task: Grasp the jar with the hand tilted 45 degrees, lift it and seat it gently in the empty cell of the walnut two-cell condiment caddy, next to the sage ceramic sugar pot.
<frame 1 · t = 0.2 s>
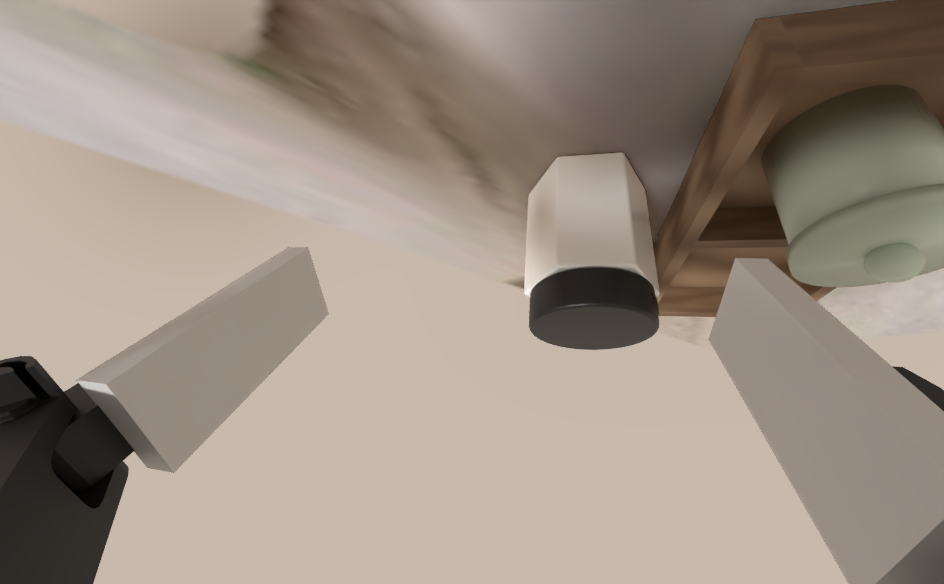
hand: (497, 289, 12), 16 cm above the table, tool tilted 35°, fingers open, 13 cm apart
caddy: (771, 200, 28), on the table
jar: (584, 189, 29), on the table
sugar pot: (834, 140, 22), point 1 cm above the table, touching caddy
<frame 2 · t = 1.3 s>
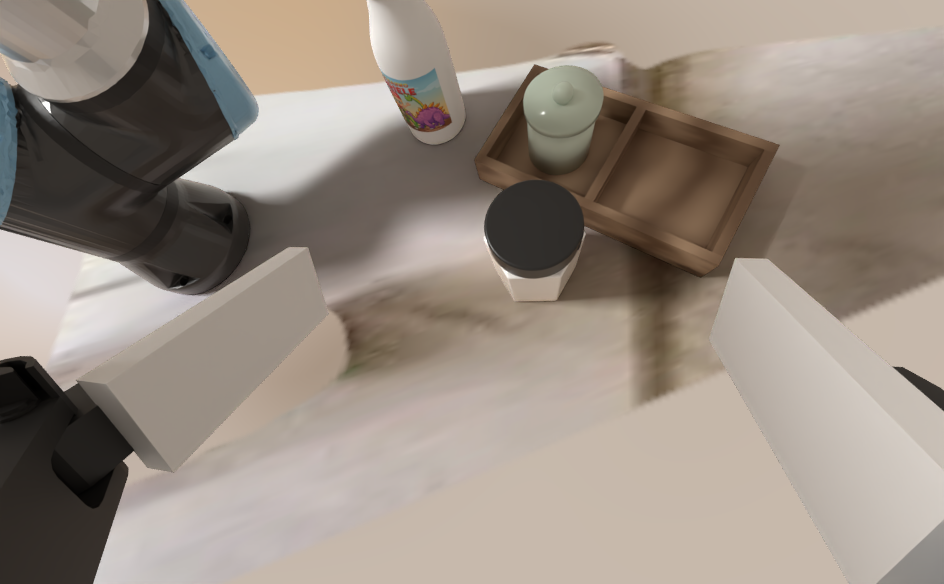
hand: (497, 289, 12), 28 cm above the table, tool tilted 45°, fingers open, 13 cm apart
caddy: (608, 173, 42), on the table
jar: (534, 268, 41), on the table
sugar pot: (558, 148, 43), point 1 cm above the table, touching caddy
milk bottle: (438, 122, 48), on the table
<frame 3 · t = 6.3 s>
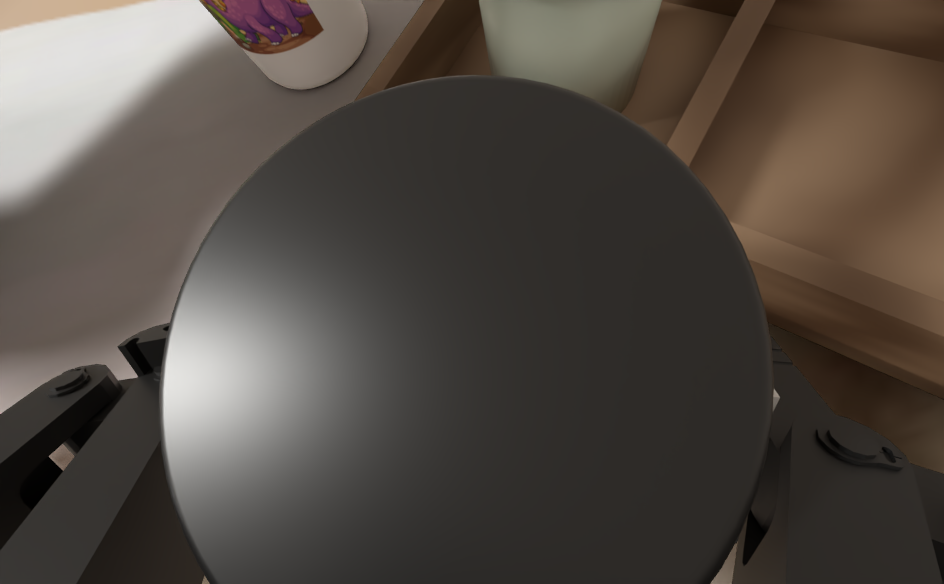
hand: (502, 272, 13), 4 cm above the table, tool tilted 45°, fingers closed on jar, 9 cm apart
caddy: (686, 134, 17), on the table
jar: (507, 372, 16), on the table, touching gripper
sugar pot: (563, 79, 18), point 1 cm above the table, touching caddy
milk bottle: (319, 48, 24), on the table
when the fingers open (7 cm above the table, at t = 11.3 s): jar drops 1 cm, resting on caddy.
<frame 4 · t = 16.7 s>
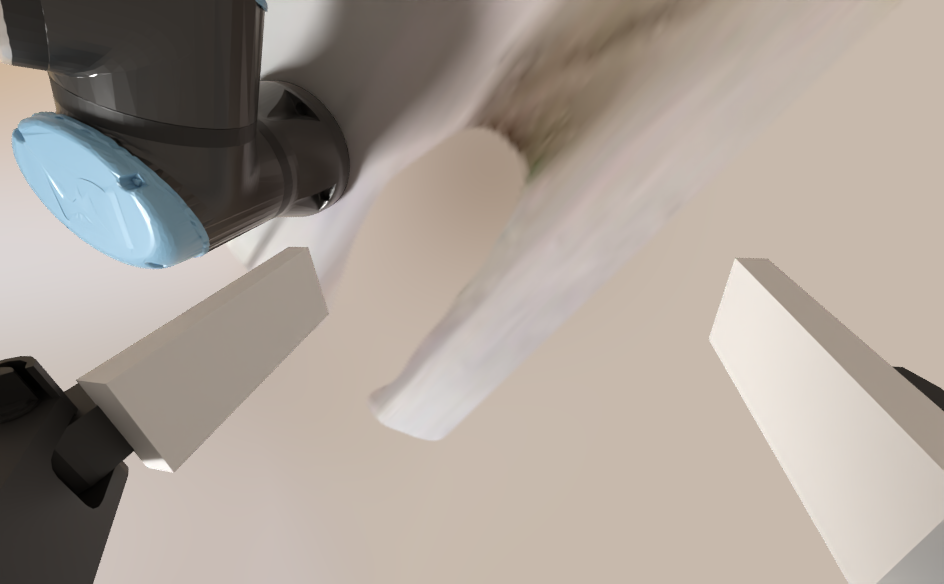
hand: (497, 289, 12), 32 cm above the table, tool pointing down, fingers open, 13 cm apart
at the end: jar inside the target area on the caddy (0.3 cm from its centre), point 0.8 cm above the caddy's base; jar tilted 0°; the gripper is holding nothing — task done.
